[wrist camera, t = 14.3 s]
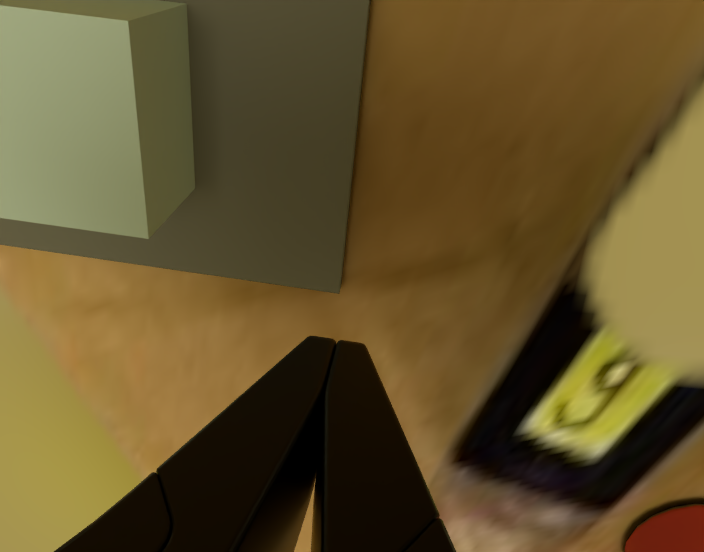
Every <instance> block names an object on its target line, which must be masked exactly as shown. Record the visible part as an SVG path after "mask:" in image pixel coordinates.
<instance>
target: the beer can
mask: <svg viewBox="0 0 704 552" xmlns="http://www.w3.org/2000/svg"><path fill="white" fill-rule="evenodd" d="M624 552H704V504H690V505H684V506H679V507H673V508H670V509H668V510H665V511H663V512H660V513H657V514H655V515H653V516H651V517H650V518H648V519H647V520H645V521H644V522H643V523H641V524H640V525H638V526H637V527H636V529H635V530H634V532H633V533H632V534H631V536H630V537H629V538H628V540H627V541H626V546H625V551H624Z"/></svg>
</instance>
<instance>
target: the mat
mask: <svg viewBox="0 0 704 552" xmlns="http://www.w3.org/2000/svg"><path fill="white" fill-rule="evenodd" d="M160 1H169V2H177V3H185V4H187V21H188V43H189V65H190V87H191V108H192V130H193V152H194V174H195V189H194V190H193V191H192V192H191V193H190V194H189V196H188V197H187V198H186V199H185V200H184V201H183V202H182V203H181V204H180V205H179V206H178V208H177V209H176V210H175V211H174V212H173V213H172V214H171V215H170V216H169V217H168V218H167V220H166V221H165V222H164V223H163V224H162V225H161V226H160V227H159V228H158V229H157V230H156V232H155V233H154V234H153V235H152V236H151V237H150V238H149V239H145V238H138V237H131V236H124V235H117V234H110V233H103V232H96V231H89V230H82V229H75V228H68V227H61V226H54V225H47V224H40V223H33V222H26V221H19V220H11V219H4V218H0V245H7V246H14V247H21V248H28V249H34V250H41V251H48V252H55V253H62V254H69V255H76V256H83V257H90V258H97V259H104V260H110V261H117V262H124V263H131V264H138V265H145V266H152V267H159V268H166V269H173V270H179V271H186V272H193V273H200V274H207V275H214V276H221V277H228V278H235V279H242V280H249V281H255V282H262V283H269V284H276V285H283V286H290V287H297V288H304V289H311V290H318V291H324V292H331V293H338V294H339V292H340V288H341V283H342V273H343V263H344V254H345V244H346V234H347V225H348V215H349V205H350V196H351V186H352V176H353V167H354V157H355V147H356V137H357V128H358V118H359V108H360V99H361V89H362V79H363V70H364V60H365V50H366V41H367V31H368V21H369V11H370V2H371V0H160Z"/></svg>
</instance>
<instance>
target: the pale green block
mask: <svg viewBox="0 0 704 552" xmlns="http://www.w3.org/2000/svg"><path fill="white" fill-rule="evenodd" d="M194 189H195V174H194V152H193V130H192V108H191V87H190V65H189V43H188V21H187V4H185V3H177V2H169V1H160V0H0V218H4V219H11V220H19V221H26V222H33V223H40V224H47V225H54V226H61V227H68V228H75V229H82V230H89V231H96V232H103V233H110V234H117V235H124V236H131V237H138V238H145V239H149V238H150V237H151V236H152V235H153V234H154V233H155V232H156V230H157V229H158V228H159V227H160V226H161V225H162V224H163V223H164V222H165V221H166V220H167V218H168V217H169V216H170V215H171V214H172V213H173V212H174V211H175V210H176V209H177V208H178V206H179V205H180V204H181V203H182V202H183V201H184V200H185V199H186V198H187V197H188V196H189V194H190V193H191V192H192V191H193V190H194Z"/></svg>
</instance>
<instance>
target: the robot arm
mask: <svg viewBox="0 0 704 552" xmlns="http://www.w3.org/2000/svg"><path fill="white" fill-rule="evenodd" d="M315 478H316V481H315ZM314 483H315V492H314V504H313V522H312V541H311V552H456V550H455V548H454V546H453V544H452V541H451V539H450V537H449V534H448V532H447V530H446V528H445V525H444V523H443V521H442V520H441V519H439V512H438V510H437V508H436V505H435V503H434V501H433V499H432V496H431V494H430V492H429V489H428V487H427V485H426V482H425V480H424V478H423V476H422V473H421V471H420V469H419V466H418V464H417V462H416V460H415V457H414V455H413V453H412V450H411V448H410V446H409V444H408V441H407V439H406V437H405V434H404V432H403V430H402V428H401V425H400V423H399V421H398V418H397V416H396V414H395V411H394V409H393V407H392V405H391V402H390V400H389V398H388V395H387V393H386V391H385V389H384V386H383V384H382V382H381V379H380V377H379V375H378V373H377V370H376V368H375V366H374V363H373V361H372V359H371V357H370V354H369V352H368V350H367V348H366V346H365V345H364V344H363V343H358V342H351V341H344V340H340V341H338V342H337V344H336V341H335V340H334V339H331V338H324V337H317V336H309V337H307V338H306V339H305V340H304V341H302V342H301V343H300V344H299V345H298V346H297V347H296V348H294V349H293V350H292V351H291V352H290V353H289V354H288V355H286V356H285V357H284V358H283V359H282V360H281V361H280V362H278V363H277V364H276V365H275V366H274V367H273V368H272V369H270V370H269V371H268V372H267V373H266V374H265V375H264V376H262V377H261V378H260V379H259V380H258V381H257V382H256V383H254V384H253V385H252V386H251V387H250V388H249V389H247V390H246V391H245V392H244V393H243V394H242V395H241V396H239V397H238V398H237V399H236V400H235V401H234V402H233V403H231V404H230V405H229V406H228V407H227V408H226V409H225V410H223V411H222V412H221V413H220V414H219V415H218V416H217V417H215V418H214V419H213V420H212V421H211V422H210V423H209V424H207V425H206V426H205V427H204V428H203V429H202V430H201V431H199V432H198V433H197V434H196V435H195V436H194V437H193V438H191V439H190V440H189V441H188V442H187V443H186V444H185V445H183V446H182V447H181V448H180V449H179V450H178V451H177V452H175V453H174V454H173V455H172V456H171V457H170V458H169V459H167V460H166V461H165V462H164V463H163V464H162V465H161V466H159V467H158V468H157V470H156V473H154V472H153V473H151V474H150V475H149V476H148V477H146V478H145V479H144V480H143V481H142V482H141V483H140V484H138V485H137V486H136V487H135V488H134V489H133V490H132V491H130V492H129V493H128V494H127V495H126V496H124V497H123V498H122V499H121V500H120V501H118V502H117V503H116V504H115V505H114V506H112V507H111V508H110V509H109V510H108V511H106V512H105V513H104V514H103V515H101V516H100V517H99V518H98V519H97V520H95V521H94V522H93V523H91V524H90V525H89V526H87V527H86V528H85V529H83V530H82V531H81V532H79V533H78V534H77V535H75V536H74V537H73V538H71V539H70V540H69V541H67V542H66V543H65V544H63V545H62V546H61V547H59V548H58V549H57V550H56V551H54V552H294V549H295V546H296V543H297V540H298V537H299V534H300V530H301V527H302V524H303V521H304V518H305V515H306V511H307V508H308V505H309V502H310V498H311V495H312V491H313V488H314Z"/></svg>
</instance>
